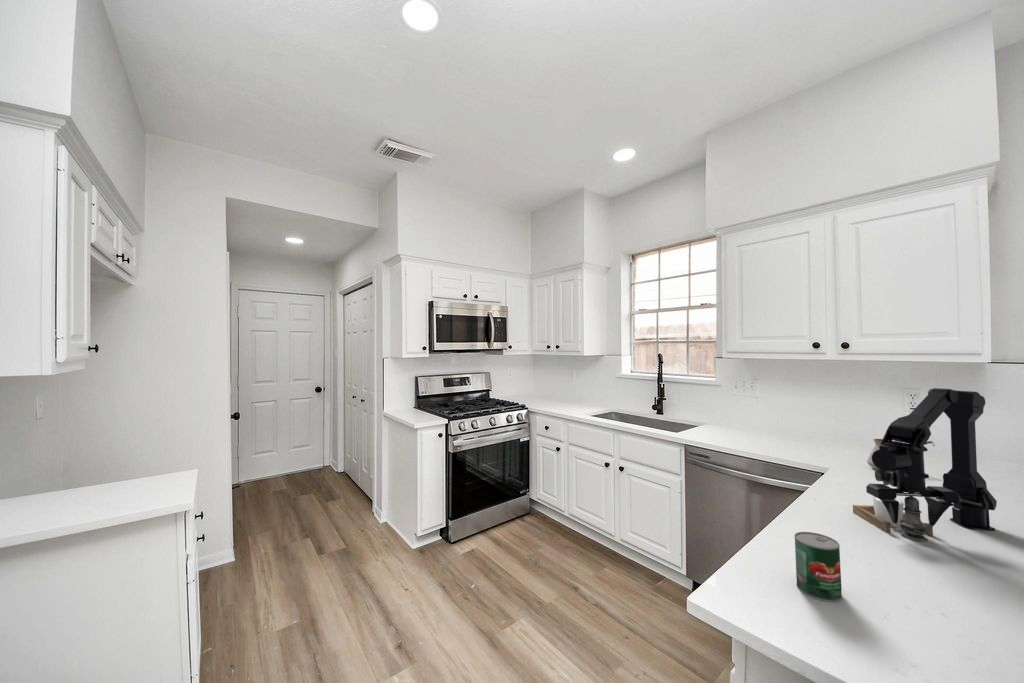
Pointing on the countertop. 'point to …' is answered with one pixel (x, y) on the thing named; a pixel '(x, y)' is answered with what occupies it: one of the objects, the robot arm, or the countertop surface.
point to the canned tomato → (818, 566)
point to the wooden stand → (869, 516)
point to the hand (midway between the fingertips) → (913, 524)
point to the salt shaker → (913, 521)
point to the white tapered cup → (883, 513)
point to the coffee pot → (876, 447)
